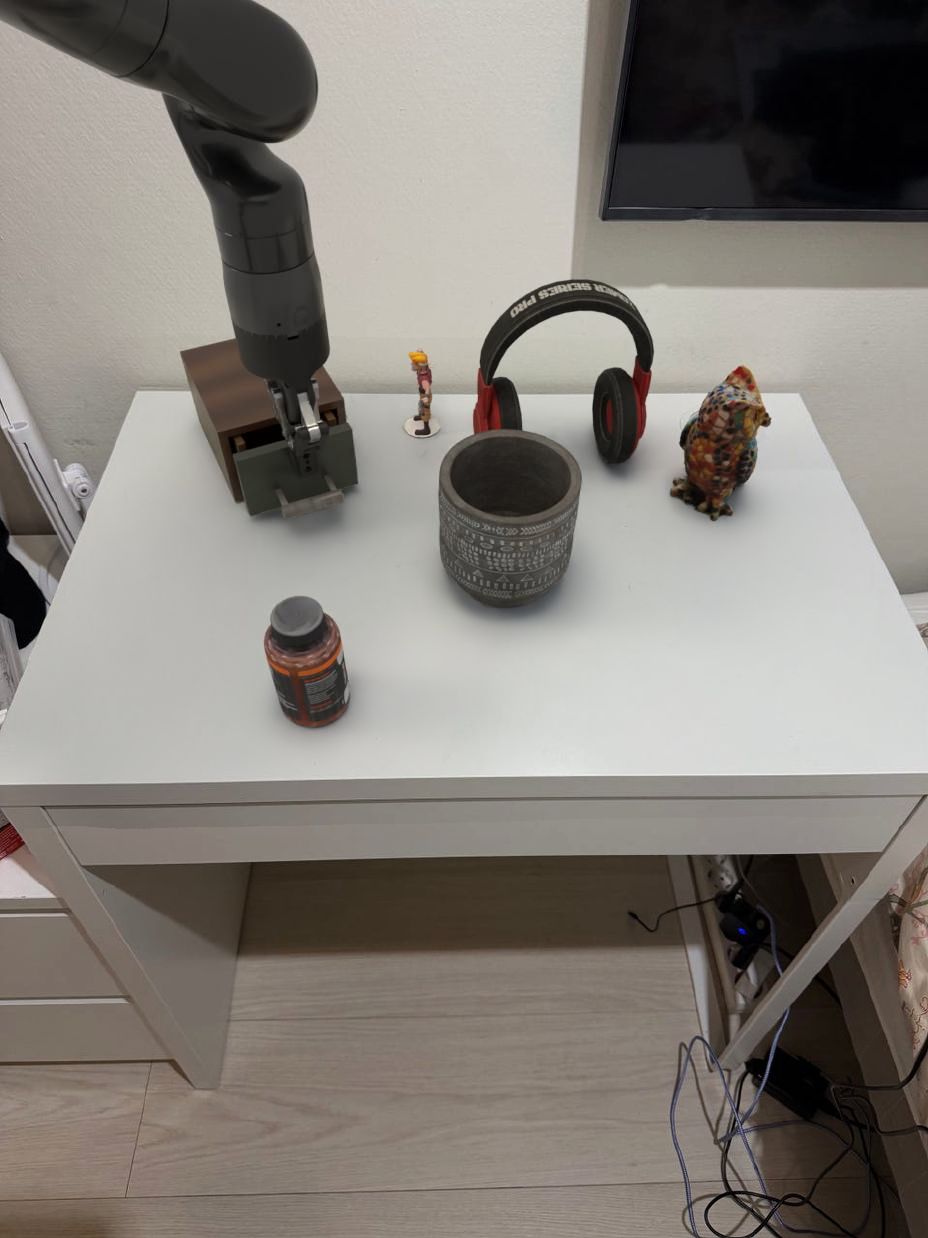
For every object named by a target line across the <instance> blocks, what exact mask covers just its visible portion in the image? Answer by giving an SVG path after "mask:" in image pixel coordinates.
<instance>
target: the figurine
mask: <svg viewBox="0 0 928 1238" xmlns="http://www.w3.org/2000/svg"><path fill="white" fill-rule="evenodd" d="M771 420H772V418H771V416H770V414H769V413H768V412H767V409H766V406H765V405H764V403H763V400H762V395H761V392H760V389H759V387H758V385H757V381H756V379H755V375H753V372H752V371H751V370H750V369H749V368H748V367H747V366H745V365H744V364H741V365H738V366H737V367H736V368H735V369H734V370H732V371H731V372H730V373H728V375H727V376H726V378H725V379H724V380H723V381H722V382H721V383H720V384H718V385H715V387H714V388H713V389H712V390H711V391H708V393H707V395H706V396H705V398H703V400H702V403H701V406H700V407H699V408H698V414H696V415H695V416H692V418H691V419H689V420H688V421H686V423H685V425H684V427H683V428H682V430H681V432H680V436H679V441H678V445H679V447H680V448H681V450H683V459H684V460H683V464H684V471H685V474H686V475H685V476H684V478H682V477H680V476H677V477H674V478H673V479H672V483H673V485H674V487H671V488H670V490H669V495H670V496H671V497H676V498H679V499H681V500H682V501H683V502H684V503H685V504H686V505H691V506H693V507H694V510H695V511H696V512H701V513H704V514H708V515H709V518H710V519H711V521H714V522H716V521H717V519H718V518H719V517H721V516H731V517H732V516H733V515H734V511H735V510H734V509H733V508H732V505H730V504H729V503H728V501H729V500H730V497H731V495H732V492H735V491H736V489H737V486H739V485H744V484H745V483H747V482H748V481H749V479H750V478H751V476H752V474H753V473H754V471H755V468H756V465H757V460H758V451H759V449H758V441H757V438H756V436H755V435H756V433H757V431H758V430H759V428H760V427H764V428H768V427H770V426H771V424H772V421H771Z"/></svg>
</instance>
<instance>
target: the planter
mask: <svg viewBox="0 0 928 1238" xmlns="http://www.w3.org/2000/svg"><path fill="white" fill-rule="evenodd" d="M438 473H439V475H438V490H437V491H438V492H437V493H438V495H437V497H438V517H439V518H438V519H439V529H438V531H439V534H438V535H439V536H438V543H439V545H438V546H439V556H440V561H441V563H442V566H443V568H444V569H445V571H446V573H447V574H448V575H449V577H450V578H451V579H452V580H453V581H454V583H455V584H456V585H457V586H458V587H460V589H462V590H463V591H464V592H465V593H466V594H468V595H469V596H470V597H471V598H472V599H474V600H475V601H477V602H479V603H481V604H482V605H485V606H489V607H493V608H498V609H500V608H501V609H510V608H511V609H512V608H518V607H520V606H524V605H526V604H528V603H530V602H532V601H534V600H536V599H538V598H539V597H541V596H542V595H543V594H545V593H546V592H547V591H549V590H551V589H552V588H553V587H554V586H555V585H556V584H557V583H558V582H559V581H560V580H561V579H562V578H563V577H564V575H565V573H566V572H567V569H568V568H569V565H570V561H571V556H572V551H573V544H574V536H575V531H576V525H577V520H578V513H579V505H580V498H581V497H580V496H581V490H582V484H583V477H582V470H581V467H580V464H579V463H578V461H577V459H576V458H575V457H574V455H573V454H572V453H571V452H570V451H569V450H568V449H567V448H566V447H564V446H563V445H561V444H560V443H559V442H557V441H555V440H554V439H552V438H550V437H547V436H545V435H542V434H540V433H537V432H532V431H528V430H523V431H522V430H512V429H499V430H489V431H483V432H479V433H476V434H474V433H473V434H471V435H468V436H466V437H464V438H462V439H461V440H459V441H458V442H456V443H455V444H454V445H453V446H452V447H451V448H450V449H449V450H448V451H447V452H446V454H445V456H444V457H443V459H442V461H441V463H440V466H439V472H438Z"/></svg>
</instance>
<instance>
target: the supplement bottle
mask: <svg viewBox="0 0 928 1238" xmlns="http://www.w3.org/2000/svg"><path fill="white" fill-rule="evenodd" d="M269 622H270V624H269V626H268V627H267V629H266V631H265V634H264V638H263V649H264V654H265V656H266V660H267V664H268V667H269V671H270V675H271V678H272V681H273V686H274V689H275V692H276V695H277V699H278V703H279V706H280V708H281V710H282V712H283V714H284V715H285V717H287V718H288V720H290V721H291V722H293V723H294V724H297V725H299V726H303V727H313V728H314V727H319V726H324V725H327V724H329V723H332V722H333V721H335V720H336V719H338V718H340V716H341V715H342V714H343V713H344V711H345V710H346V709H347V707H348V705H349V702H350V698H351V697H350V696H351V691H350V681H349V677H348V670H347V665H346V659H345V653H344V647H343V641H342V636H341V632H340V629H339V625H338V624H337V622H336V621H335V620H334V618H333V617H331V616H330V615H329V614H327V613H326V612H325V611H324V609H323V606H322V605H321V604H320V602H319V601H318V600H316V599H315V598H313V597H311V596H307V595H293V596H289V597H286V598H284V599H282V600H281V601H279V602H278V603H277V604H276V605H275V606H274V607H273V609H272V610H271V613H270V618H269Z"/></svg>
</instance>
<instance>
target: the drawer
mask: <svg viewBox="0 0 928 1238" xmlns="http://www.w3.org/2000/svg"><path fill="white" fill-rule="evenodd" d="M319 416H320V420H322V421H325V422H326V423H327V425H328V426H329V436H328V439H327V441H326V443H325V445H324V448H323V450H319V451H316V456H317V462H318V469H319V470H318V472H317V473H316V474H314V475H311V476H308V477H304V478H298V477H297V476H296V474H295V472H294V470H293V468H292V465H291V460H290V454H289V449H288V444H287V440H288V439H287V440H286V439H285V437H283V435H282V427H281V425H280V423H279V424H276V425H272V426H268V427H265V428H261V429H257V430H253V431H250V432H246V433H242V434H239V435H235V436H231V437H228V439H229V443H230V447H231V451H232V455H233V459H234V463H235V466H236V470H237V474H238V478H239V482H240V486H241V490H242V494H243V498H244V500H243V501H244V505H245V510H246V512H247V514H248V516H249V517H254V516H256V515H260V514H263V513H266V512H269V511H273V510H276V509H279V508H281V512H282V516H283V518H284V519H285V520H290V519H293V518H296V517H299V516H303V515H306V514H309V513H313V512H316V511H319V510H322V509H325V508H329V507H333V506H335V505H339V504H342V503H344V502H345V496H344V493H343V491H342V490H343V489H346V488H349V487H353V486H356V485H359V477H358V468H357V459H356V450H355V440H354V432H353V427H352V426H351V425H350V423H349V422H347V423H344V424H340V425H337V426H336V418H335V417H334V415H333V413H332V412H331V410H327V411H324V412H320V413H319Z"/></svg>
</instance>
